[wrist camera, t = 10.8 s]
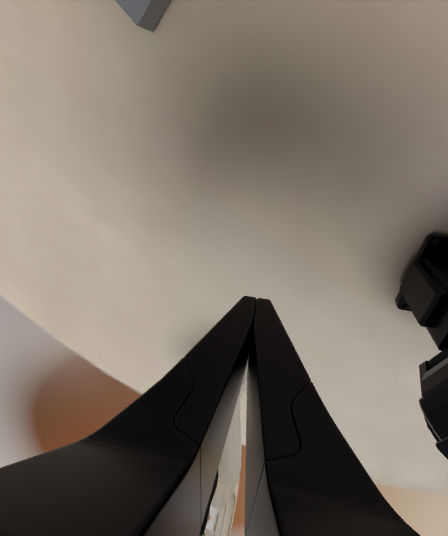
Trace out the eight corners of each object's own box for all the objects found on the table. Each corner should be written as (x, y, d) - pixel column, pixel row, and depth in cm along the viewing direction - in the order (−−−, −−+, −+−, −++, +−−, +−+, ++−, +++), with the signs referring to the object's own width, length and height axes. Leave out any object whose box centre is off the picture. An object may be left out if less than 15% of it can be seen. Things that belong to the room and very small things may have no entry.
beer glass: (181, 360, 32) (112, 532, 20) (209, 326, 28) (147, 512, 16) (232, 389, 33) (198, 570, 21) (266, 359, 29) (250, 559, 17)
